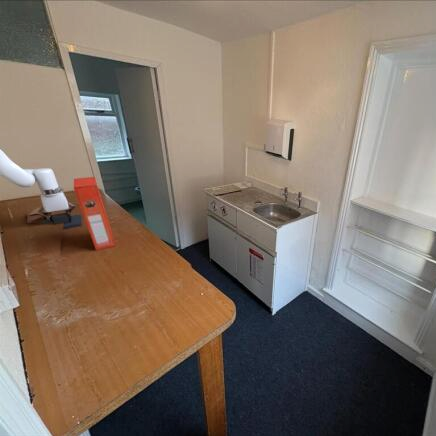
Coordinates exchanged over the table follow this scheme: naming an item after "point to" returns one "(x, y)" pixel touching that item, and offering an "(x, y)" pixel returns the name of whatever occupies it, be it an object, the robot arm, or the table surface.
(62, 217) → the black pad
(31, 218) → the sunglasses case
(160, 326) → the table surface
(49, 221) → the socket pad
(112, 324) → the table surface
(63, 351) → the table surface
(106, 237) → the file binder
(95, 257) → the table surface
